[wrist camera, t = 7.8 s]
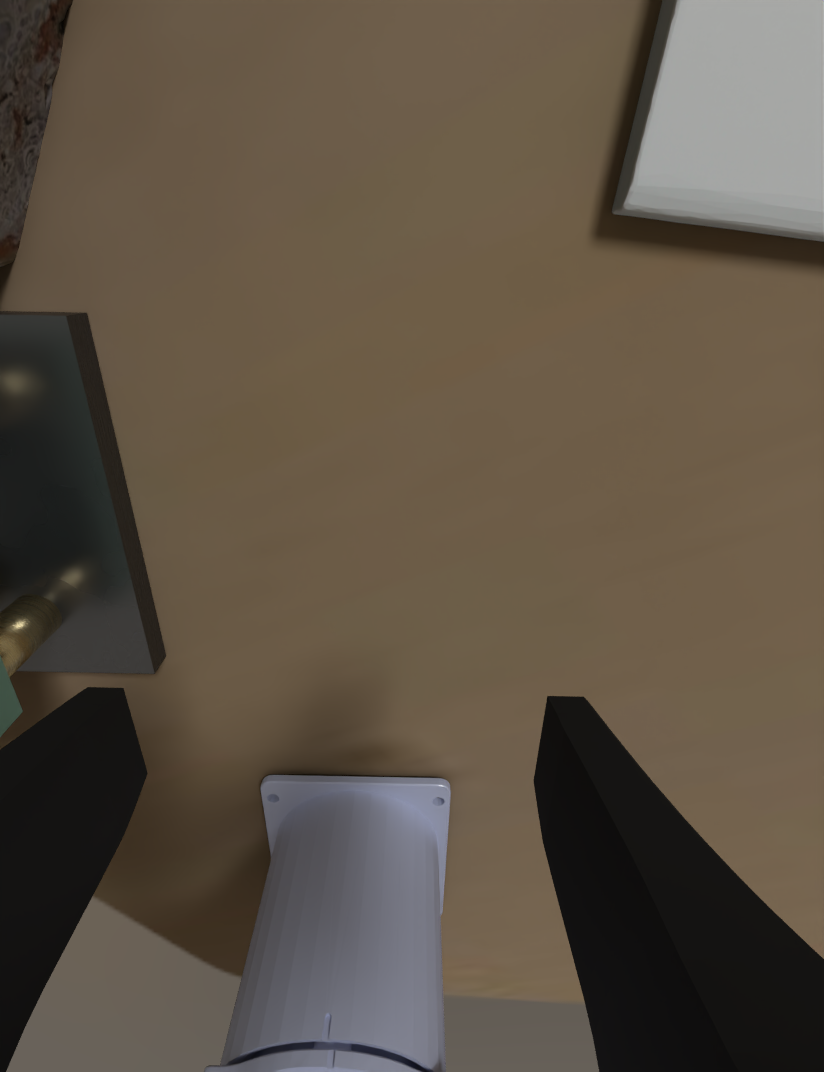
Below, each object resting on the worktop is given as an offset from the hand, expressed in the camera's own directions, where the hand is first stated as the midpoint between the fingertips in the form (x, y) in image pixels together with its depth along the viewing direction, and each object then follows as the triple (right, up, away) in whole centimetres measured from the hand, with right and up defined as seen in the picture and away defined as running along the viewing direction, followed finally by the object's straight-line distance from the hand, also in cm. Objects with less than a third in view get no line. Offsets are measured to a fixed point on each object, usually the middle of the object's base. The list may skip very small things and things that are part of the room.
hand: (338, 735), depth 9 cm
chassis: (-13, +4, +8) cm, 16 cm away
